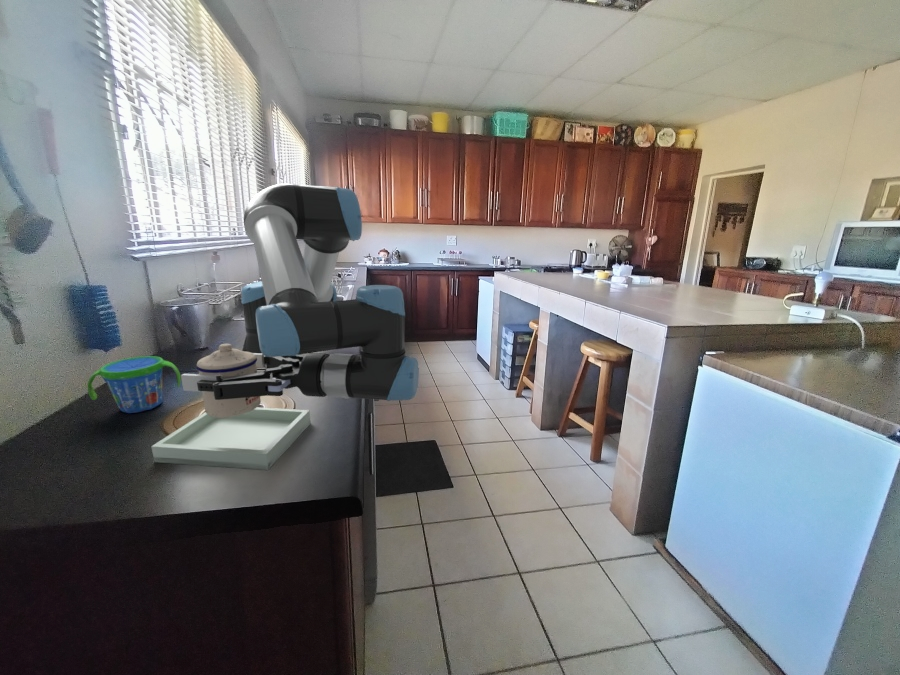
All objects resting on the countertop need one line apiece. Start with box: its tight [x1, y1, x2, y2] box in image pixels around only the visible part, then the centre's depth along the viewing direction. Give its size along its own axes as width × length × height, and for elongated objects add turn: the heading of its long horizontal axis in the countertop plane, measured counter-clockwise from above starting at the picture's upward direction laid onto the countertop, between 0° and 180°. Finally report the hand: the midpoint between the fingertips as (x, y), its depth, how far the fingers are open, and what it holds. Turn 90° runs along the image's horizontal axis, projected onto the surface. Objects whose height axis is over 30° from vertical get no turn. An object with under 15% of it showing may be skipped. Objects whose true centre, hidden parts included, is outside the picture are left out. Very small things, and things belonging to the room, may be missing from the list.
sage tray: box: [150, 406, 311, 471], centre depth 70 cm, size 16×20×3 cm
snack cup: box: [87, 355, 182, 414], centre depth 82 cm, size 16×10×10 cm
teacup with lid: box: [195, 343, 262, 418], centre depth 67 cm, size 12×9×12 cm
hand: (209, 369), depth 67 cm, fingers closed on teacup with lid, 11 cm apart
